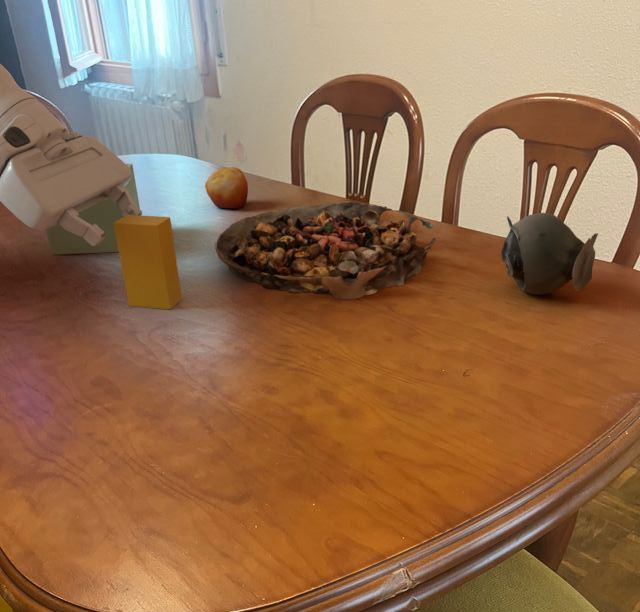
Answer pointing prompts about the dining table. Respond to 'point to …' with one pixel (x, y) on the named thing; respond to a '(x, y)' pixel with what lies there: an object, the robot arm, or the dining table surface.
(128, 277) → the packet
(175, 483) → the dining table surface
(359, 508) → the dining table surface
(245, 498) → the dining table surface
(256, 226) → the food dish
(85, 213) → the bin
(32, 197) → the robot arm
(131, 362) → the dining table surface
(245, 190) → the fruit
